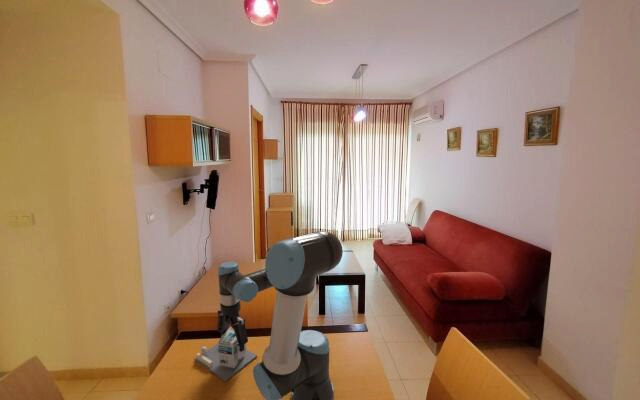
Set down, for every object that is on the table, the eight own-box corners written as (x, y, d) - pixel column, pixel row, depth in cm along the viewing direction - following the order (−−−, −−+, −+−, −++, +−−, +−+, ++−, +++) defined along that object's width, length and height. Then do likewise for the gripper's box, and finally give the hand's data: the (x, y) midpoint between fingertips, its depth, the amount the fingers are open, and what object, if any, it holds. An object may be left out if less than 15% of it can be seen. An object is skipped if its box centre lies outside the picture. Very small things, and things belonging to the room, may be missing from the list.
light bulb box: (234, 368, 115) (233, 344, 113) (218, 365, 116) (217, 341, 114) (246, 350, 125) (246, 327, 123) (232, 347, 127) (231, 325, 125)
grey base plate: (257, 357, 125) (256, 346, 124) (225, 381, 112) (224, 370, 111) (226, 339, 136) (225, 330, 135) (194, 360, 123) (193, 349, 122)
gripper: (256, 305, 113) (258, 357, 117) (220, 289, 125) (223, 338, 129) (241, 314, 107) (243, 369, 111) (205, 297, 119) (208, 347, 123)
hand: (233, 352), depth 120 cm, fingers closed on light bulb box, 8 cm apart
